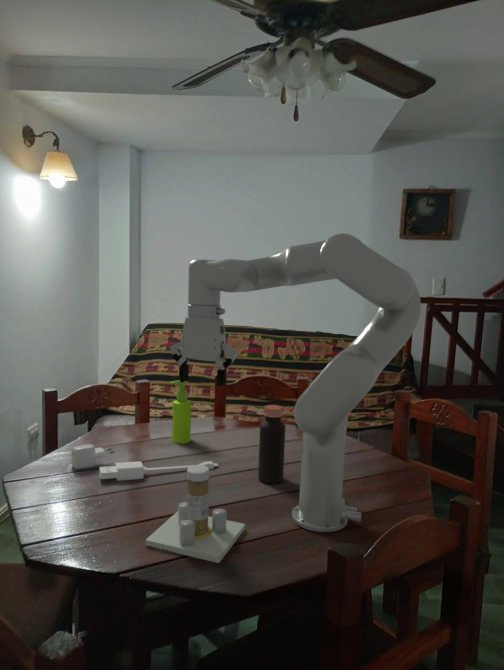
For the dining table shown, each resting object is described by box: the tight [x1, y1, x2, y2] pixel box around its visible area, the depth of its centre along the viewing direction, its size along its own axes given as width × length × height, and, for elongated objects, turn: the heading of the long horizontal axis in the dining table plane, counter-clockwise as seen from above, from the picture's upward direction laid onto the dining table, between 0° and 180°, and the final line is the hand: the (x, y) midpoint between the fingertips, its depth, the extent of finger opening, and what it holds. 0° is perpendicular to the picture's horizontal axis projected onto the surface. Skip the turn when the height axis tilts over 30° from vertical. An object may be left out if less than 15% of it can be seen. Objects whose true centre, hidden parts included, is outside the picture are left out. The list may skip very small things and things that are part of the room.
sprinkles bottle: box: [186, 464, 210, 535], centre depth 103 cm, size 5×5×13 cm
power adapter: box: [71, 443, 115, 470], centre depth 141 cm, size 11×5×6 cm, turn 121°
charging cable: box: [98, 460, 219, 482], centre depth 137 cm, size 5×32×3 cm, turn 112°
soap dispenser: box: [169, 379, 192, 444], centre depth 163 cm, size 6×7×20 cm
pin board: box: [145, 501, 246, 564], centre depth 104 cm, size 16×14×5 cm
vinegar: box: [257, 404, 286, 485], centre depth 134 cm, size 7×7×20 cm
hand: (202, 383), depth 120 cm, fingers open, 9 cm apart
